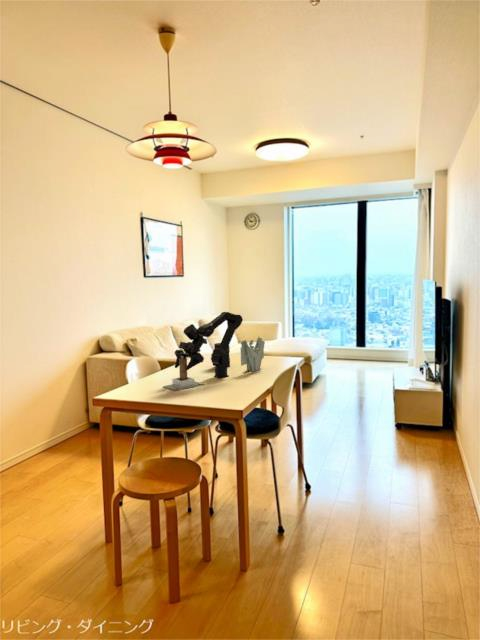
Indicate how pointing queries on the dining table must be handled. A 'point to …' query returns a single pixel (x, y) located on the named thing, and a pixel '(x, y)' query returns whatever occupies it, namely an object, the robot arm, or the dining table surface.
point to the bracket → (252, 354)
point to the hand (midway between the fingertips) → (180, 368)
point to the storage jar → (226, 351)
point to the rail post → (183, 368)
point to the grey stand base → (182, 384)
